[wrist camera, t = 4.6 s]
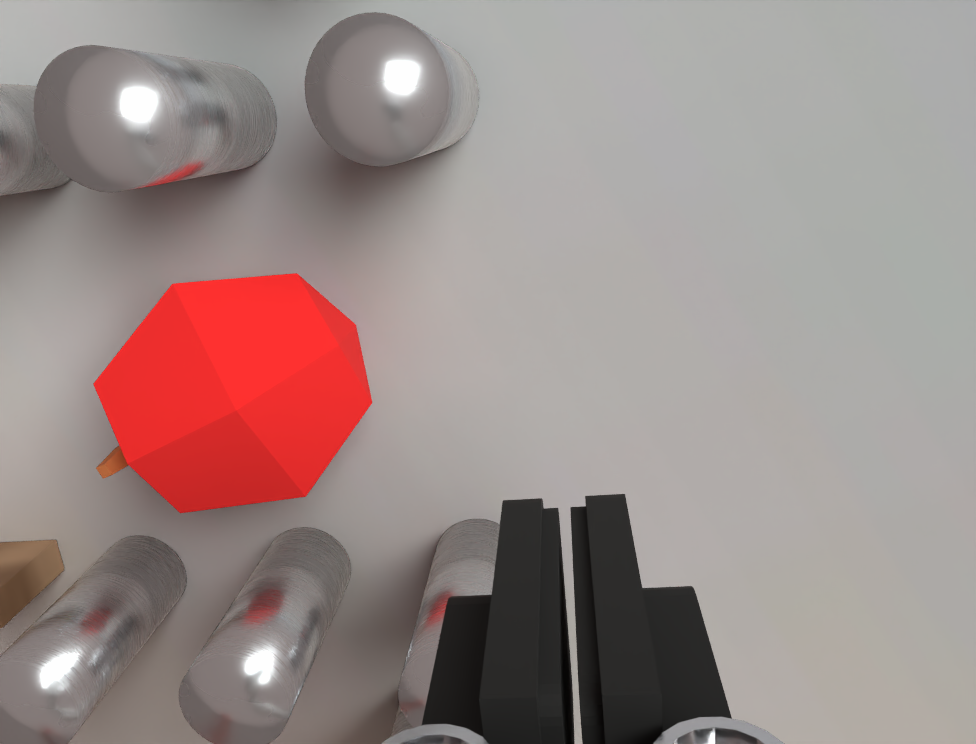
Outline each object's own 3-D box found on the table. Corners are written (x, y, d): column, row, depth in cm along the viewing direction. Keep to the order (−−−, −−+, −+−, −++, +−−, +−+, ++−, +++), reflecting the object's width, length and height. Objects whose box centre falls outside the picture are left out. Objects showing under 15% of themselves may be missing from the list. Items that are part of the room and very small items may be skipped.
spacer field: (450, -214, 21) (401, -364, 14) (540, 737, 30) (535, 915, 23) (-84, -137, 23) (-350, -240, 16) (151, 746, 32) (43, 915, 25)
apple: (313, 237, 20) (-3, 403, 18) (433, 455, 22) (167, 611, 21) (283, 201, 26) (44, 325, 25) (380, 377, 29) (171, 494, 27)
